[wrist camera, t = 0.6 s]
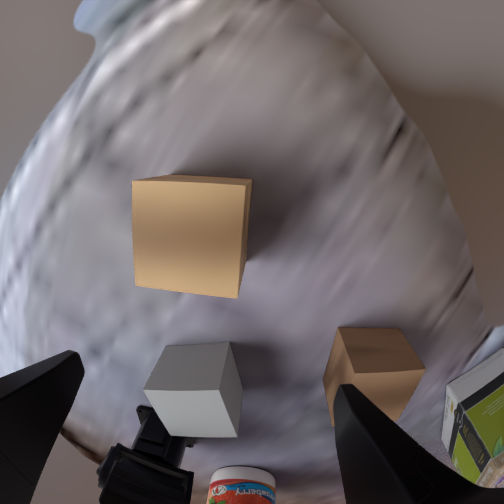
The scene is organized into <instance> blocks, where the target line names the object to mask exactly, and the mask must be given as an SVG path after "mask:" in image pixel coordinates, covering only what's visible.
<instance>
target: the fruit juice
mask: <svg viewBox="0 0 504 504" xmlns="http://www.w3.org/2000/svg"><path fill="white" fill-rule="evenodd" d="M275 491H276V484H275V479H274V477H273V475H271V474H270V473H268V472H266V471H264V470H261V469H257V468H252V467H243V466H232V467H225V468H221V469H218V470H216V471H215V472H214V474H213V475H212V478H211V482H210V488H209V493H208V499H207V504H275Z"/></svg>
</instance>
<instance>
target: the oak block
mask: <svg viewBox="0 0 504 504" xmlns="http://www.w3.org/2000/svg"><path fill="white" fill-rule="evenodd" d="M251 191H252V179H241V178H227V177H211V176H190V175H164V176H158V177H151V178H145V179H139V180H133V181H132V232H133V255H134V271H135V283H136V286H142V287H149V288H156V289H163V290H170V291H178V292H186V293H193V294H202V295H210V296H219V297H228V298H238V294H239V290H240V285H241V281H242V276H243V272H244V268H245V263H246V254H247V241H248V228H249V216H250V204H251Z"/></svg>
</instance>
